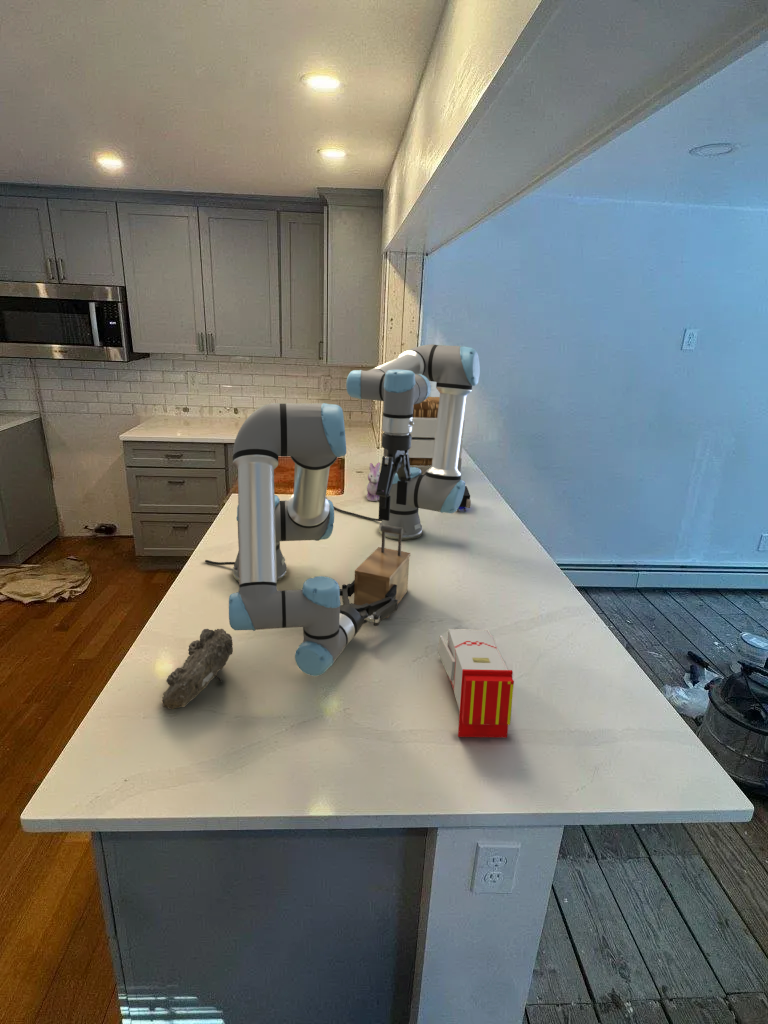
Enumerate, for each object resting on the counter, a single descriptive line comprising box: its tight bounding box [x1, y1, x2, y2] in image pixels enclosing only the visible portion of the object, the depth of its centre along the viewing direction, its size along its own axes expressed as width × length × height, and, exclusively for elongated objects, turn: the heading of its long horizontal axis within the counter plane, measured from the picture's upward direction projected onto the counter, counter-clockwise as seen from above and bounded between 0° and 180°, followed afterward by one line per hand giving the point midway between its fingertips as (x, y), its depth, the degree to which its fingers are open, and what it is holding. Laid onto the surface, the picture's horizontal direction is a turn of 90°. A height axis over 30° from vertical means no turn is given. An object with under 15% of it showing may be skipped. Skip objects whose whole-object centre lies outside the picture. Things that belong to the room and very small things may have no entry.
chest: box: [353, 556, 411, 619], centre depth 152 cm, size 16×10×11 cm, turn 159°
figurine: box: [365, 462, 381, 502], centre depth 233 cm, size 9×10×15 cm
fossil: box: [161, 628, 234, 710], centre depth 117 cm, size 22×10×15 cm
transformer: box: [383, 396, 465, 474], centre depth 268 cm, size 34×33×41 cm
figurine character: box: [456, 485, 472, 513], centre depth 228 cm, size 7×8×15 cm
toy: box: [437, 628, 515, 738], centre depth 117 cm, size 12×13×30 cm
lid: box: [354, 524, 412, 581], centre depth 149 cm, size 17×10×9 cm, turn 159°
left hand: (376, 585), depth 148 cm, fingers closed on chest, 9 cm apart
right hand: (392, 511), depth 151 cm, fingers open, 13 cm apart
